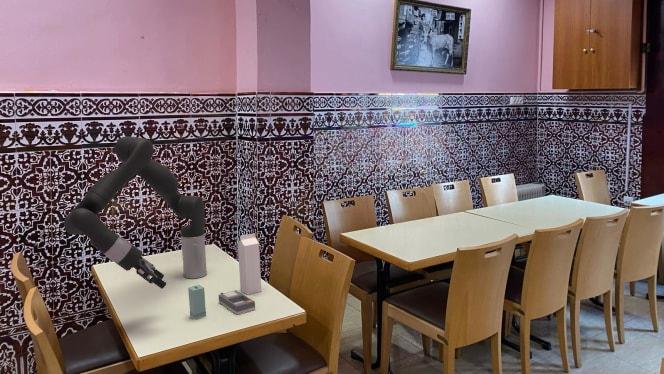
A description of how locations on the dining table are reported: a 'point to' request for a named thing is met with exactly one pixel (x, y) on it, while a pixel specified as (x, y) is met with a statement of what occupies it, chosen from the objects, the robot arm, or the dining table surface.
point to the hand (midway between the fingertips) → (163, 282)
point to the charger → (197, 301)
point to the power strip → (236, 302)
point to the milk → (249, 264)
